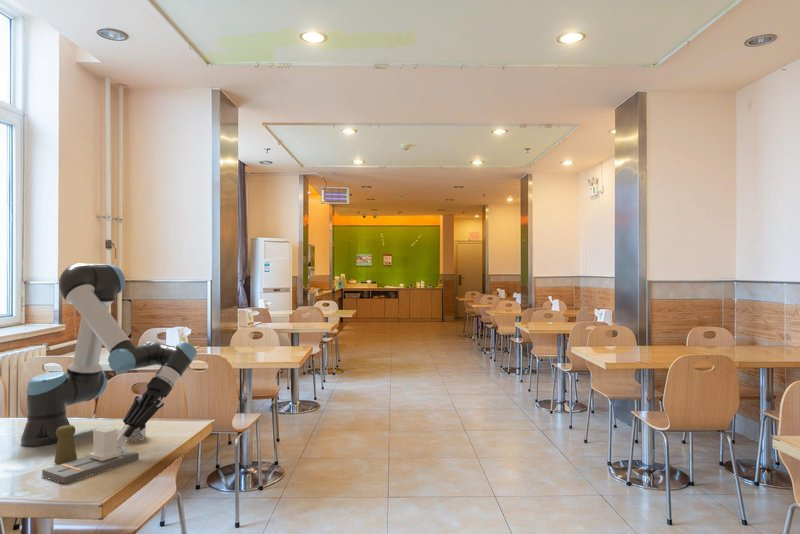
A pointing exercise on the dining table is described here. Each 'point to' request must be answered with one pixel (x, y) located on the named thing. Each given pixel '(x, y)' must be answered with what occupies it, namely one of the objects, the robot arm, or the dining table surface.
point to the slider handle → (104, 444)
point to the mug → (138, 434)
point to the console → (87, 467)
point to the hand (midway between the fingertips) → (116, 445)
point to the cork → (65, 445)
